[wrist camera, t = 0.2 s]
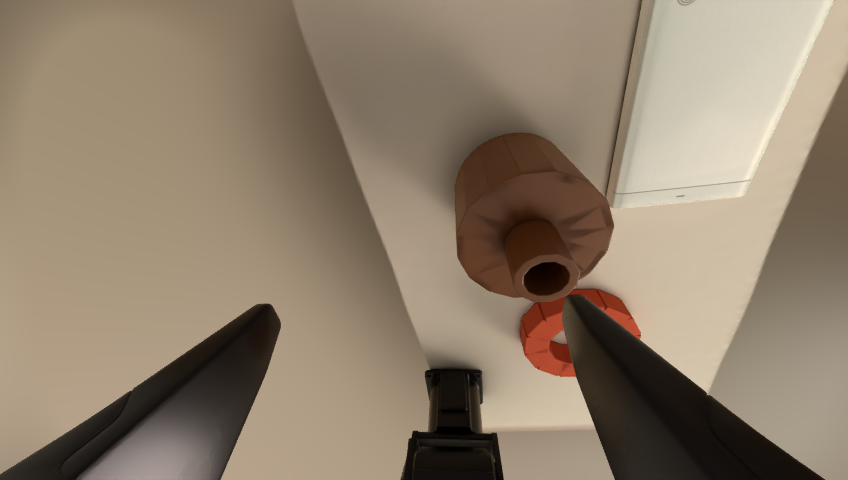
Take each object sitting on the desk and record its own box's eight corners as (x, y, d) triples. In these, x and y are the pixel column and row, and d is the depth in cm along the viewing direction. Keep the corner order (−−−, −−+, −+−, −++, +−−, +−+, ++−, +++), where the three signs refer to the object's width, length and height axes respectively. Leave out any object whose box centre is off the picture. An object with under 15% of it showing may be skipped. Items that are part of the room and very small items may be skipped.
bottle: (561, 233, 24) (619, 336, 16) (457, 238, 25) (461, 338, 17) (577, 127, 20) (670, 193, 11) (451, 138, 21) (453, 207, 12)
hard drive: (660, -23, 14) (613, 210, 21) (870, -64, 13) (749, 198, 20) (642, -18, 16) (603, 200, 22) (830, -54, 15) (730, 187, 21)
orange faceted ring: (614, 357, 32) (624, 376, 30) (517, 357, 33) (521, 376, 31) (640, 287, 27) (654, 305, 25) (523, 290, 28) (529, 308, 26)
